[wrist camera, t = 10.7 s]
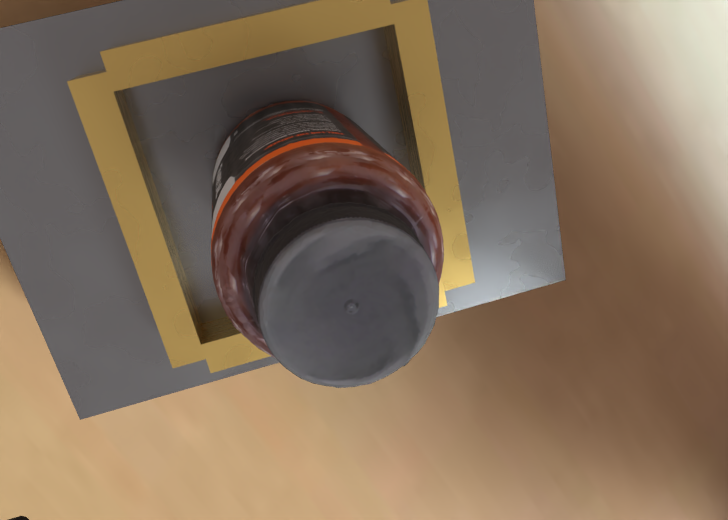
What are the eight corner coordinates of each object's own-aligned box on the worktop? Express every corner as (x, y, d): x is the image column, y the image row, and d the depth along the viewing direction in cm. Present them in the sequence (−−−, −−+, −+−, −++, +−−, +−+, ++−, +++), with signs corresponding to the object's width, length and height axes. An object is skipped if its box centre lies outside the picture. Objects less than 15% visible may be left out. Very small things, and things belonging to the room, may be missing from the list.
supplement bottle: (175, 176, 24) (141, 304, 14) (302, 60, 24) (367, 102, 13) (290, 290, 27) (335, 473, 16) (408, 186, 26) (535, 306, 16)
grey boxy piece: (453, -153, 28) (534, -209, 21) (509, 235, 34) (587, 296, 27) (-56, -44, 26) (-161, -63, 19) (104, 348, 32) (70, 447, 25)
